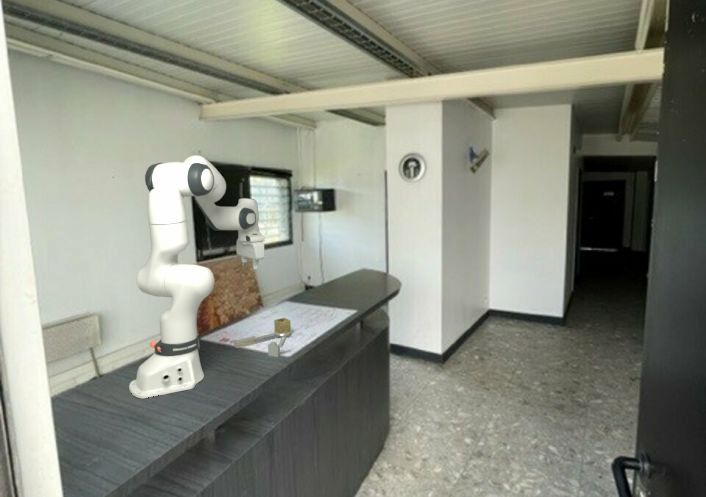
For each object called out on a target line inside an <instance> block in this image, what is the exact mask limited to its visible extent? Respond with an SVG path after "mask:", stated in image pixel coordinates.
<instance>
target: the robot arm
mask: <svg viewBox="0 0 706 497" xmlns="http://www.w3.org/2000/svg"><path fill="white" fill-rule="evenodd" d="M144 180H145V181H144V182H145V185H146V187H147V190H148V192H149V193H148V195H147V196H148V197H147V220H148V226H149V236H150V254H149V257H148V259H147V261H146V263H145V264H144V265H143V266H142V267H141V268H140V269H139V271H138V272H137V276H136V284H137V288H138V289H139V290H140V291H141V292H142V293H144V294H148V295H150V296H154V297H159V298H160V297H161V298H163V297H164V298H171V299H172V305H171V308H168V309H167V310H165V311H164V312H163V313H162V314H161V315H160V316H159V317H160V318H159V330H160V331H159V332H160V334H159V336H160V339H159V341H158V342H157V341H156V340H151V341H150V343H149V345H150V347H151V348H152V349H154V353H153V354H151V356H149V357H148V358H147V359H146V360H145V361H144V362H142V364H141V365H140V366H138V368H137V373H136V379H133V380H132V381H130V383H129V387H128V388H129V389H128V390H129V392H130V394H131V393H132V394H131V395H132V396H134V397H136V398H138V399H147V398H148V397H149V398H153V396H154V397H157V396H158V395H159V396H164V395H168V394H173V393H178V392H182V391H186V390H187V391H188V390H192V389H194V388H195V386H196V385H197V384H198V383H199V382H201V381H202V380H203V379H204V378H205V374H204V371H203V369H202V365H201V360H200V355H199V352H200V339H199V335H198V332H197V329H198V328H197V327H198V326H197V318H198V317H197V316H198V312H199V308H200V305H201V303H202V302H203V301H204V300H205V299H206V298H207V297H209V295H210V294H211V293H212V291H213V290H214V287H215V280H216V279H215V275H214V272H213V271H212V270H211V269H210V268H209V267H206V266H204V265H203V266H202V265H198V264H194V263H192V264H190V263H179V262H178V261H179V260H178V258H179V254H180V253H181V252H183V251H184V250H186V248H187V247H188V246H189V245H190V235H189V233H190V232H189V227H188V219H187V211H186V208H185V203H184V198H187V197H193V200H194V201H195V204H196V205H197V206H198V208H199V209H200V211H201V212H202V214H203V216H204V217H205V219H206V222H207V224H208V226H209V227H210V228H211V229H212V230H213V231H216V232H217V231H237V232H238V233H237V234H238V236H237V237H238V238H237V239H236V249H235V250H236V255H237V256H240V259H241V261H242V266H243V267H248V265H249V262H248V259H252V262H253V264H252V266H251V267H252V270H258V268H259V267H258V266H259V262H260V261H261V260H264V257H265V243H264V242H265V241H266V240H265V239H266V238H265V236H264V235H263V233H261V232H260V226H259V220H260V214H259V213H260V212H259V206H258V202H257V200H256V199H255V198H252V197H251V198H249V197H242V198H239V199H238V203H237V205H236V206H219V205H216V204H215V203H216V202H218V201H220V200H221V199H222V198H223V197H224V195H225V194H226V190H227V182H226V180H225V177H224V176H222V174H221V173H220V171H218V169H217V168H216V167H215V166H214V164H212V163H211V162H210V161H209V160H207V159H206V158H205V157H204V156H202V155H198V154H196V155H195V154H193V155H191V156H188V157H186V158H185V160H184V161H182V162H180V161H171V162H157V163H153V164H151V165H149V167H147V170H146V172H145V175H144ZM247 258H248V259H247ZM149 398H148V399H149Z"/></svg>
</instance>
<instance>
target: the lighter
mask: <svg viewBox="0 0 706 497" xmlns="http://www.w3.org/2000/svg"><path fill="white" fill-rule="evenodd" d="M286 340H287V337H285V336H283V337H282V338H281V339H280V340H279V342H278V343H277V341H271V342H270V343H268V345H267V352H268V353H267V354H268V357H273V356H274V357H275V358H279V357H280V356H281V355H280V354H281V350H280V349H281V348H283V346H284V344H285V343H286ZM279 355H280V356H279ZM278 356H279V357H278Z"/></svg>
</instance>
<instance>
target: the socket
mask: <svg viewBox="0 0 706 497" xmlns="http://www.w3.org/2000/svg"><path fill="white" fill-rule="evenodd" d="M291 328H292V327H291V320H290V319H289V318H286V317H282V318H277V319H274V331H275V332H277V333H279V334H283V333H287V332H291V333H292V329H291Z"/></svg>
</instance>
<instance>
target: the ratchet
mask: <svg viewBox="0 0 706 497" xmlns="http://www.w3.org/2000/svg"><path fill="white" fill-rule="evenodd" d="M291 333H292V331H291V332H287V333H283V334H279V333H277V332H275V330H274V332H272V333H269V334H265V335H260V336H255V335H254V336H248V337H244V338H239V339H236V340H233V346H234V347H235V348H237V349H239V348H243V347H247V346H252V345H255V344H256V345H257V344H259V343H263V342H268V341H271V339H272V340H275V338H276V339H279V338H282V337H283V336H285V337H288V338H290V337H291V336H292V334H291ZM290 335H291V336H290ZM289 336H290V337H289Z"/></svg>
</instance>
